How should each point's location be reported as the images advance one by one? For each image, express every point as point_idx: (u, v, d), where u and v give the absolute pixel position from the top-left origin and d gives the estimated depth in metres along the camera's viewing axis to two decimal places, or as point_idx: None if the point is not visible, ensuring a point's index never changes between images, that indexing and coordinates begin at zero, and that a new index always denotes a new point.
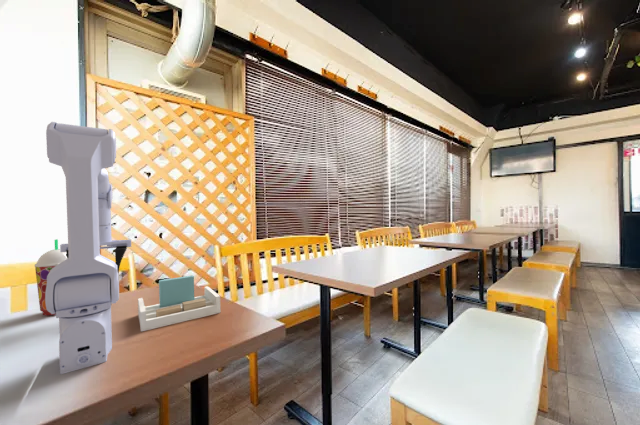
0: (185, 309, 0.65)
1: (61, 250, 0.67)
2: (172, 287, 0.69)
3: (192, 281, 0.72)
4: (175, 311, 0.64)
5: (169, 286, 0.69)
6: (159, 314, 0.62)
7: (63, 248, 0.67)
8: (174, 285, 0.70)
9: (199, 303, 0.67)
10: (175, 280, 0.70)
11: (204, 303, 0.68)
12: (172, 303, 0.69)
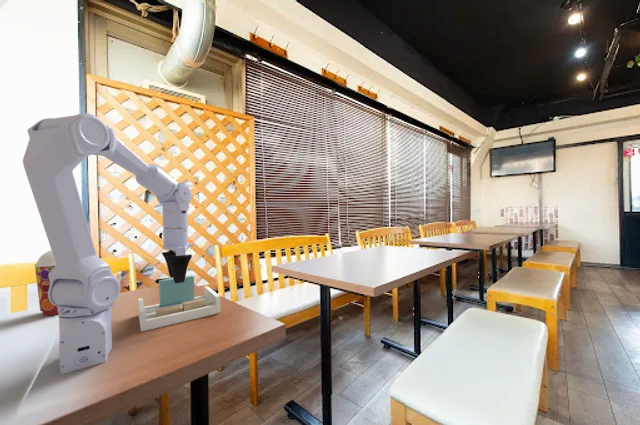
0: (185, 309, 0.65)
1: None
2: (172, 287, 0.69)
3: (192, 281, 0.72)
4: (175, 311, 0.64)
5: (169, 286, 0.69)
6: (159, 314, 0.62)
7: None
8: (174, 285, 0.70)
9: (199, 303, 0.67)
10: None
11: (204, 303, 0.68)
12: (172, 303, 0.69)
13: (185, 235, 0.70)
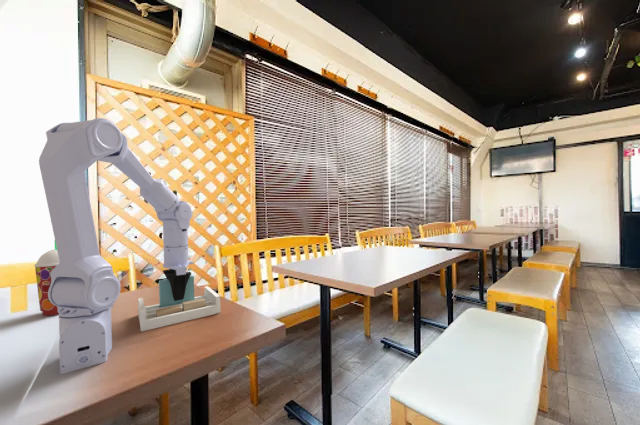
0: (185, 309, 0.65)
1: None
2: None
3: (192, 281, 0.72)
4: (175, 311, 0.64)
5: (169, 286, 0.69)
6: (159, 314, 0.62)
7: None
8: None
9: (199, 303, 0.67)
10: None
11: (204, 303, 0.68)
12: (172, 303, 0.69)
13: (185, 253, 0.70)
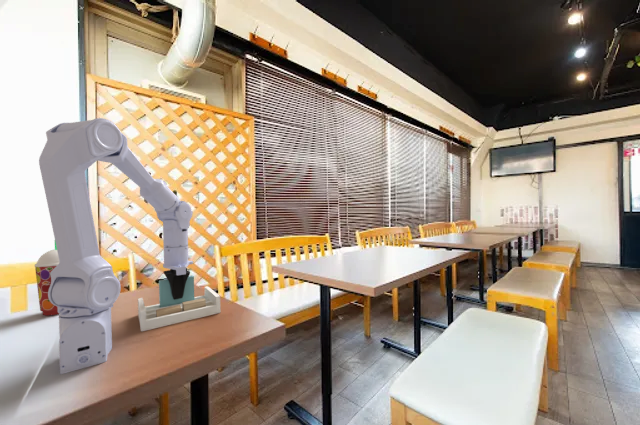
0: (185, 309, 0.65)
1: None
2: None
3: (192, 281, 0.72)
4: (175, 311, 0.64)
5: (169, 286, 0.69)
6: (159, 314, 0.62)
7: None
8: None
9: (199, 303, 0.67)
10: None
11: (204, 303, 0.68)
12: (172, 303, 0.69)
13: (185, 253, 0.70)
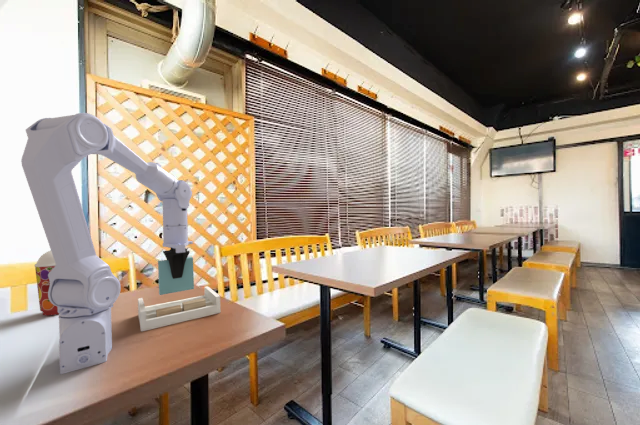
0: (185, 309, 0.65)
1: None
2: None
3: (191, 262, 0.72)
4: (175, 311, 0.64)
5: (168, 266, 0.69)
6: (159, 314, 0.62)
7: None
8: None
9: (199, 303, 0.67)
10: None
11: (204, 303, 0.68)
12: (172, 283, 0.69)
13: (185, 232, 0.70)
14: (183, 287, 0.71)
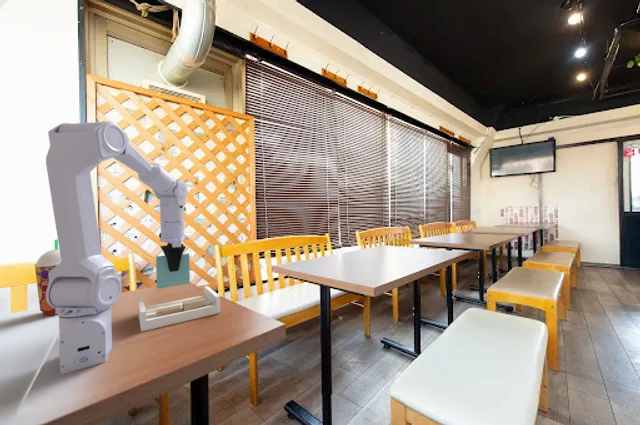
0: (185, 309, 0.65)
1: None
2: None
3: (187, 258, 0.77)
4: (175, 311, 0.64)
5: (165, 262, 0.73)
6: (159, 314, 0.62)
7: None
8: None
9: (199, 303, 0.67)
10: None
11: (204, 303, 0.68)
12: (169, 278, 0.74)
13: (181, 228, 0.75)
14: (179, 281, 0.75)
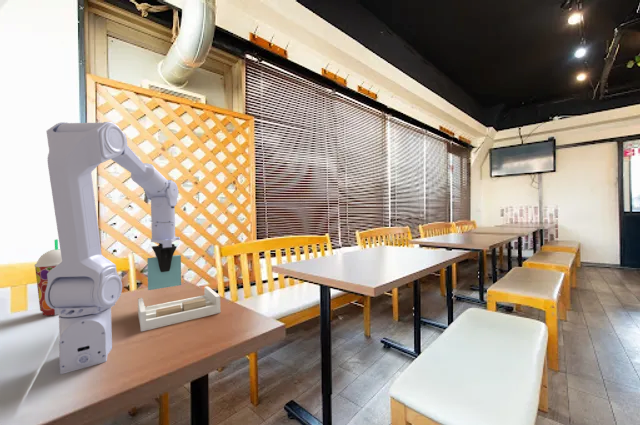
0: (185, 309, 0.65)
1: None
2: None
3: (179, 260, 0.77)
4: (175, 311, 0.64)
5: (157, 263, 0.73)
6: (159, 314, 0.62)
7: None
8: None
9: (199, 303, 0.67)
10: None
11: (204, 303, 0.68)
12: (160, 280, 0.74)
13: (172, 229, 0.75)
14: (170, 283, 0.75)
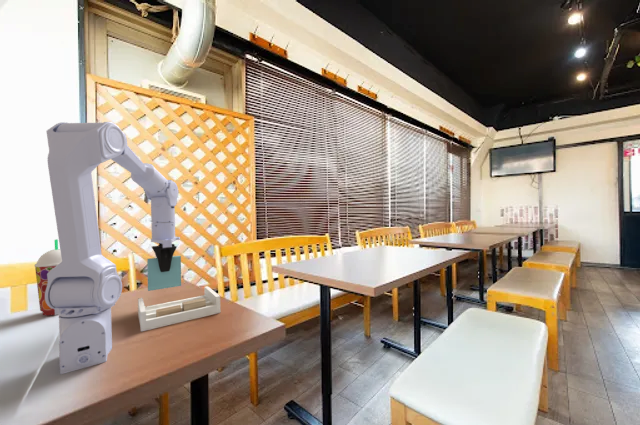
0: (185, 309, 0.65)
1: None
2: None
3: (179, 261, 0.77)
4: (175, 311, 0.64)
5: (157, 264, 0.73)
6: (159, 314, 0.62)
7: None
8: None
9: (199, 303, 0.67)
10: None
11: (204, 303, 0.68)
12: (160, 280, 0.74)
13: (172, 229, 0.75)
14: (170, 284, 0.75)
